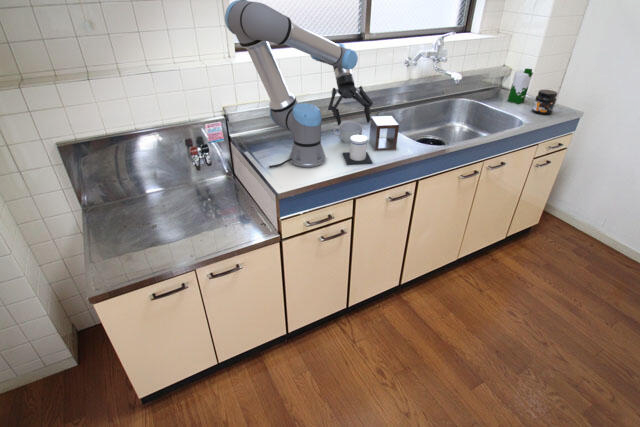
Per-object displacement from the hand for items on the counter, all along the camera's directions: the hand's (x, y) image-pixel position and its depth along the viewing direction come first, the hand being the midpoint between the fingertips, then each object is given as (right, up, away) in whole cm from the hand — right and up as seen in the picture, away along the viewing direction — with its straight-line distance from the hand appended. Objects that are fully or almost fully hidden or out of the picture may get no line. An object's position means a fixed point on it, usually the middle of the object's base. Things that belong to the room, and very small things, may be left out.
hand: (354, 122), depth 166 cm
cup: (+2, -15, +3) cm, 15 cm away
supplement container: (+115, +19, +58) cm, 130 cm away
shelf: (+15, -7, +17) cm, 23 cm away
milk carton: (+108, +31, +75) cm, 135 cm away
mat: (+2, -15, +3) cm, 16 cm away
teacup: (-2, -5, +20) cm, 21 cm away
